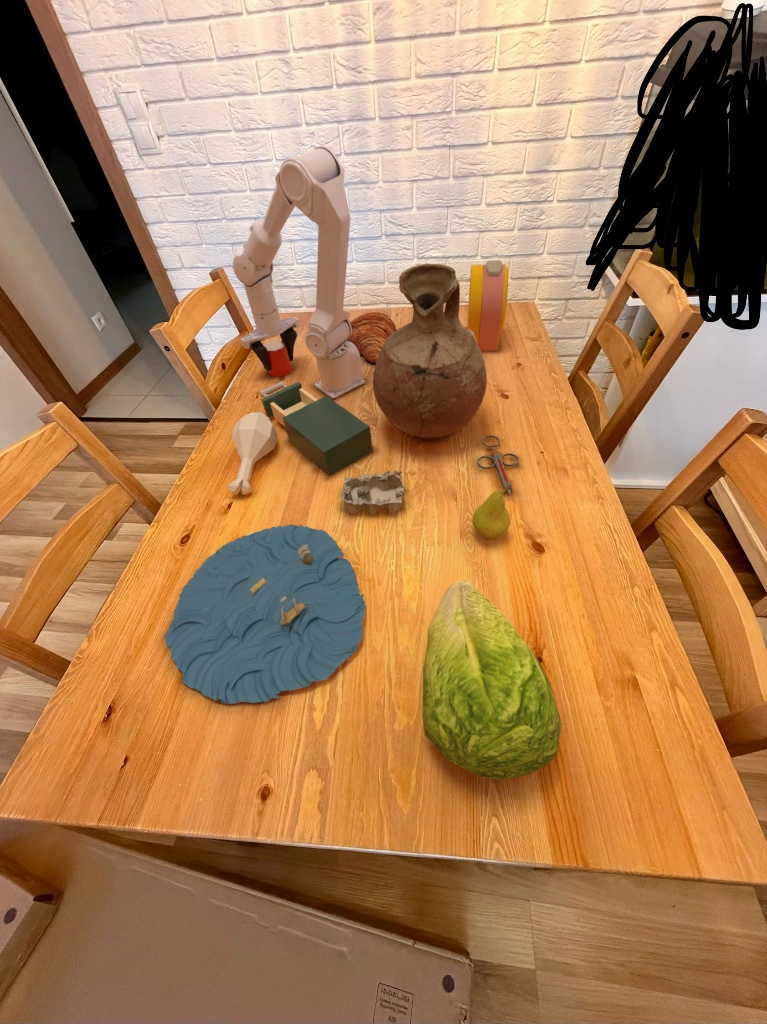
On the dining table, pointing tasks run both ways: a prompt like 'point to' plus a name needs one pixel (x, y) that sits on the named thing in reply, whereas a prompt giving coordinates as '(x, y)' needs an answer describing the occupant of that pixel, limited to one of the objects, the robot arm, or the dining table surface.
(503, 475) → the syringe
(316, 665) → the blue ocean wave diorama
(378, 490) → the grey jagged hollow block
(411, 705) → the dining table surface
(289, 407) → the green drawer
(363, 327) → the pastry
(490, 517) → the fruit
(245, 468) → the chicken leg
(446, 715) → the lettuce
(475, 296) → the alarm clock
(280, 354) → the drink tin
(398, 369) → the jug
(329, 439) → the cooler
